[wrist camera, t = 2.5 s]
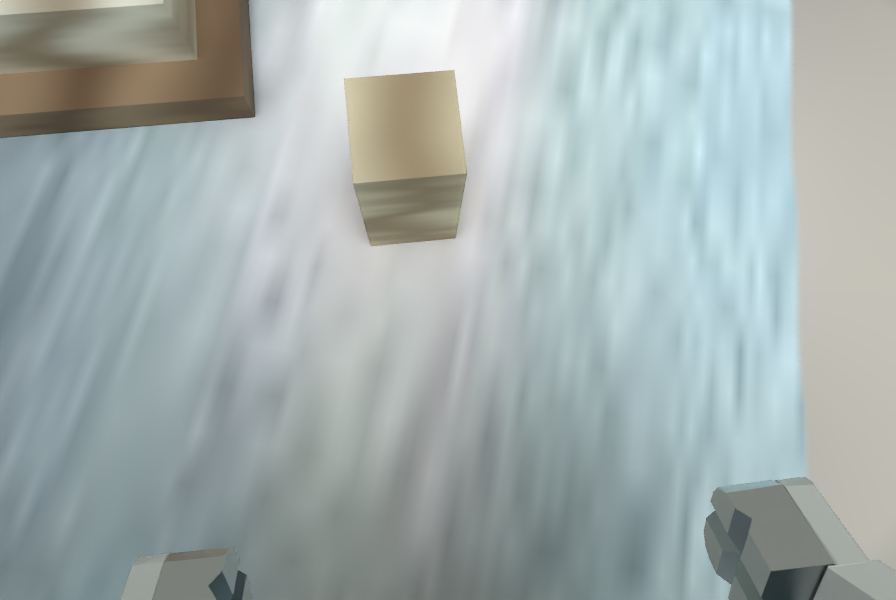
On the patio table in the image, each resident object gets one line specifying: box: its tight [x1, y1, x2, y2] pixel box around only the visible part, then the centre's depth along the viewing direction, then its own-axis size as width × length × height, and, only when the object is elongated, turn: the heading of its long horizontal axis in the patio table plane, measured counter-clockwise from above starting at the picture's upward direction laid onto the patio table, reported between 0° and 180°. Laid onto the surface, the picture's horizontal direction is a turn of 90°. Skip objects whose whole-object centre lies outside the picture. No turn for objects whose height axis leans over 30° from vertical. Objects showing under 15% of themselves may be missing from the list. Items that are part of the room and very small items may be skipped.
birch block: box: [344, 70, 467, 246], centre depth 27 cm, size 4×4×8 cm
